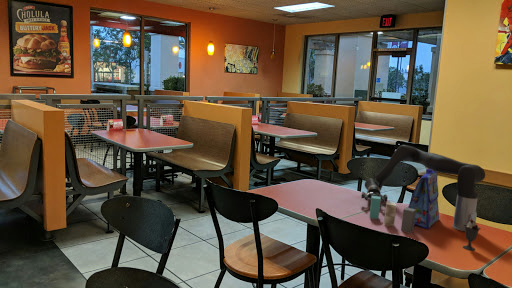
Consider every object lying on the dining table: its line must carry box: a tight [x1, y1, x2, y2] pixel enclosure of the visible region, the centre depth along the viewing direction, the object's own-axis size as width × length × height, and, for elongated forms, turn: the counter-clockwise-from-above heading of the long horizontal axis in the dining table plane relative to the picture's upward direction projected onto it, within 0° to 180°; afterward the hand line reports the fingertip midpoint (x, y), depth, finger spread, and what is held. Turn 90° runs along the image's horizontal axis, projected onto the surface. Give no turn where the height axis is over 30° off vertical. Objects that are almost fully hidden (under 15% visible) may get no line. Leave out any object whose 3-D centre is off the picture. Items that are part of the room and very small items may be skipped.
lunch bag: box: [408, 168, 440, 230], centre depth 215 cm, size 22×14×29 cm, turn 143°
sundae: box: [462, 215, 481, 251], centre depth 183 cm, size 7×7×15 cm
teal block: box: [369, 196, 381, 220], centre depth 218 cm, size 4×4×11 cm
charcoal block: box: [400, 207, 416, 234], centre depth 201 cm, size 4×4×11 cm
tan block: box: [383, 201, 397, 227], centre depth 208 cm, size 4×4×11 cm
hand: (374, 200), depth 228 cm, fingers open, 8 cm apart
